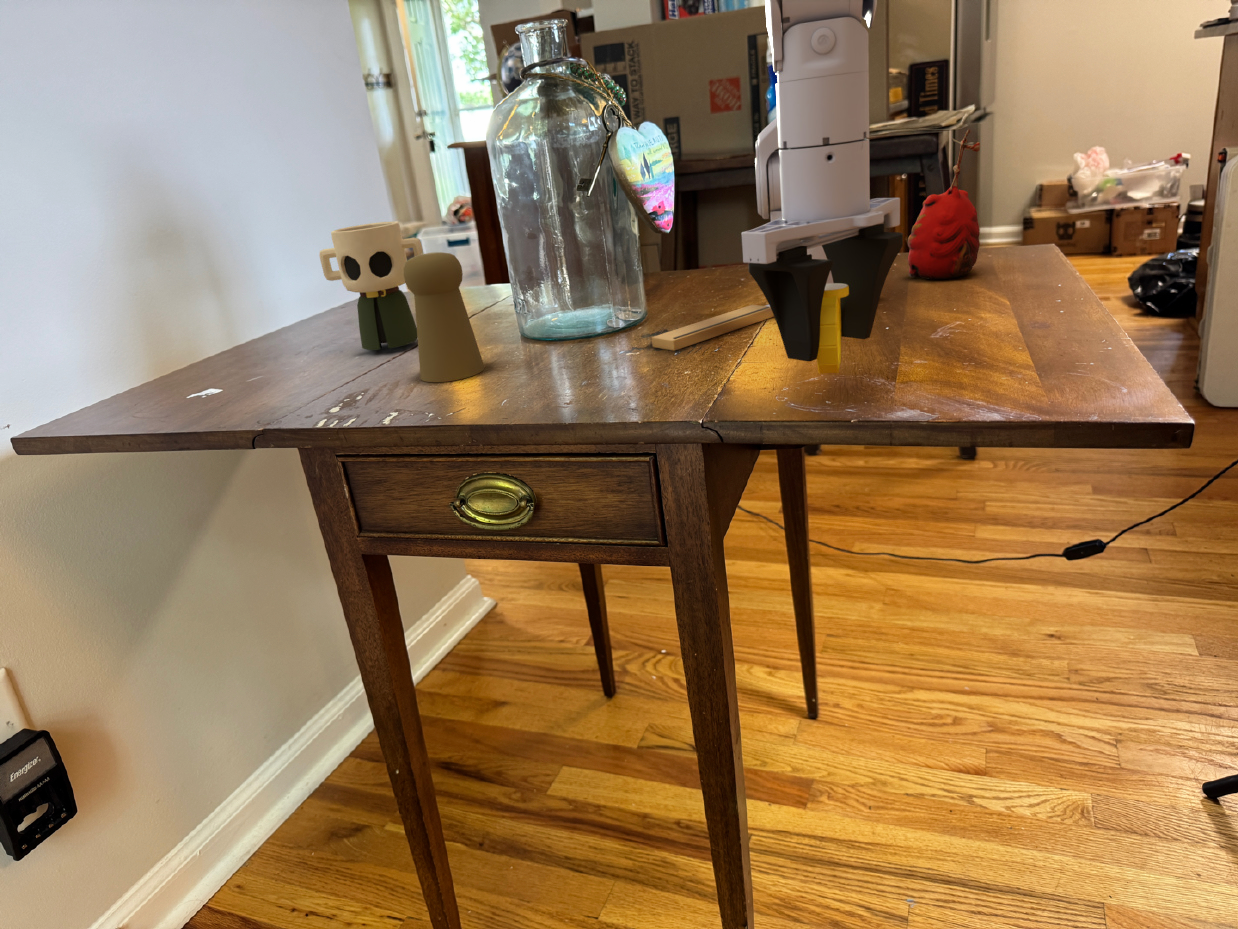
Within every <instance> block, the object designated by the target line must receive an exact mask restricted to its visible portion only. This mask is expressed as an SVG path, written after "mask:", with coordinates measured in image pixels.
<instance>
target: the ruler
mask: <svg viewBox="0 0 1238 929" xmlns="http://www.w3.org/2000/svg"><path fill="white" fill-rule="evenodd" d="M771 318H775V317H774V314H773V312H772V310H771V307H769V306H765V305H759V304H758V305H757V304H749V305H746V306H743V307H741V308H738V309H735V310H732V311H728V312H725V313H722V314H719V315H716V316H713V317H709V318H707V319H703V320H700V321H698V322H695V323H691V324H688V325H684V326H681V327H679V328H676V329H673V330H670V331H666V332H663V333H660V334H658V335H657V334H656V335H654V336H652V337H651V342H652V348H655V349H662V350H666V351H667V350H668V351H674V352H675V351H678V350H681V349H683V348H684V349H685V348H686V347H690V346H692V345H696V344H699V343H701V342H705V341H707V340H710V339H713V338H715V337H719V336H722V335H724V334H728V333H730V332H734V331H736V330H739V329H742V328H745V327H748V326H751V325H754V324H757V323H759V322H762V321H765V320H769V319H771Z"/></svg>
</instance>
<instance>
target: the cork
mask: <svg viewBox="0 0 1238 929" xmlns="http://www.w3.org/2000/svg"><path fill="white" fill-rule="evenodd" d="M461 264H462V263H461V262H460V260H459V259H458V258H457V257H456V255H455V254H453V253H451V252H443V251H435V252H434V251H433V252H426V253H423V254H421V255H418V256H416V257H415V256H413V257H411V258H409V259H407V262H406V263H405V266H404V279H405V285H406V287H407V289H408V290H409V291H410V292H411V293H412V294H413V299H414V309H415V324H416V327H417V337H418V338H417V347H418V348H417V350H418V362H419V373H420V374H419V375H420V376H419V377H420V380H421V381H423V382H427V383H446V382H447V383H448V382H454V381H458V380H463V379H467V378H470V377H473V376H476V375H478V374H480V373H482V372H483V371H484V370H485V368H486V367H485V364H484V361H483V358H482V354H481V351H480V349H479V345H478V343H477V342H478V341H477V340H476V336H475V333H474V329H473V326H472V323H471V321H470V317H469V314H468V311H467V308H466V305H465V302H464V299H463V296H462V293H461V289H460V286H461V284H462V282H463V274H464V273H463V267H462V265H461Z"/></svg>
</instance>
